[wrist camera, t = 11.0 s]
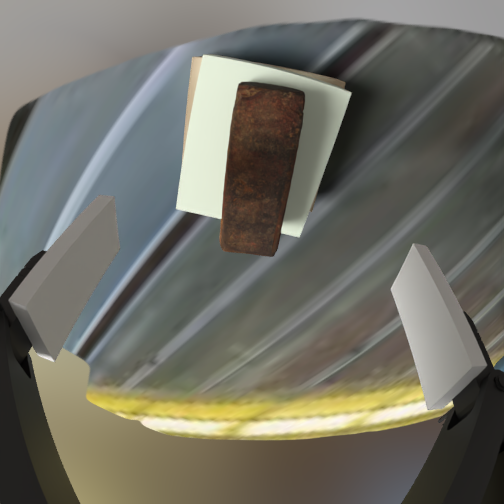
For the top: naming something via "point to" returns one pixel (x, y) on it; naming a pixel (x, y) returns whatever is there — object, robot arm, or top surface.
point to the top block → (218, 131)
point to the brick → (260, 166)
